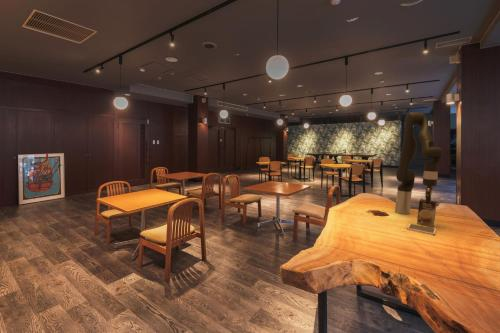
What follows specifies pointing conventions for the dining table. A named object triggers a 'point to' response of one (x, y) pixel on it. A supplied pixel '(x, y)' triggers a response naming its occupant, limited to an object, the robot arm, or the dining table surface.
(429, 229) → the mat
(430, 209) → the coffee box
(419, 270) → the dining table surface
